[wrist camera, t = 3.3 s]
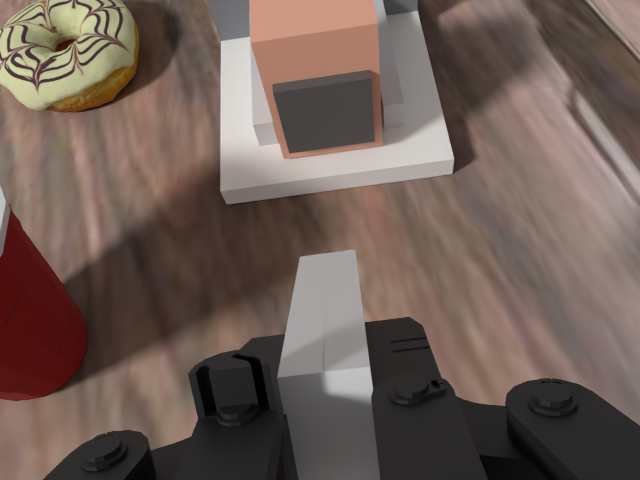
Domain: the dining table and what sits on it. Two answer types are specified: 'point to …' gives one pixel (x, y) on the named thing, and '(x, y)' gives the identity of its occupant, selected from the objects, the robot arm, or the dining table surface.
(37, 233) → the dining table surface
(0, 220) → the plastic cup
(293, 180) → the stand
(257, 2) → the plug block
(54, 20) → the decorated donut
